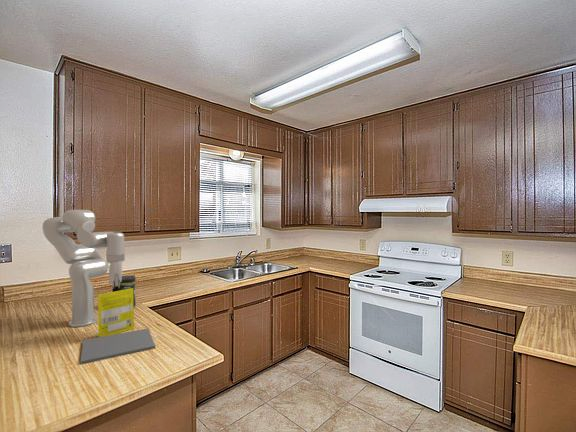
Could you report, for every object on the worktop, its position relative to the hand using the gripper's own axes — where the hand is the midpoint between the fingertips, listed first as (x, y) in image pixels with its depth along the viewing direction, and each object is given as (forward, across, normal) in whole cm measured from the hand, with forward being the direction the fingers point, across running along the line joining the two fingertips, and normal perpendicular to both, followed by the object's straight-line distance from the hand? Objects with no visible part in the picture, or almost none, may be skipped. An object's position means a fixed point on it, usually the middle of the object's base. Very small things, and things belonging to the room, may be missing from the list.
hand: (116, 296), depth 148 cm
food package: (+16, +5, 0) cm, 17 cm away
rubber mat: (+16, +19, 0) cm, 25 cm away
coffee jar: (+16, -37, +7) cm, 41 cm away
